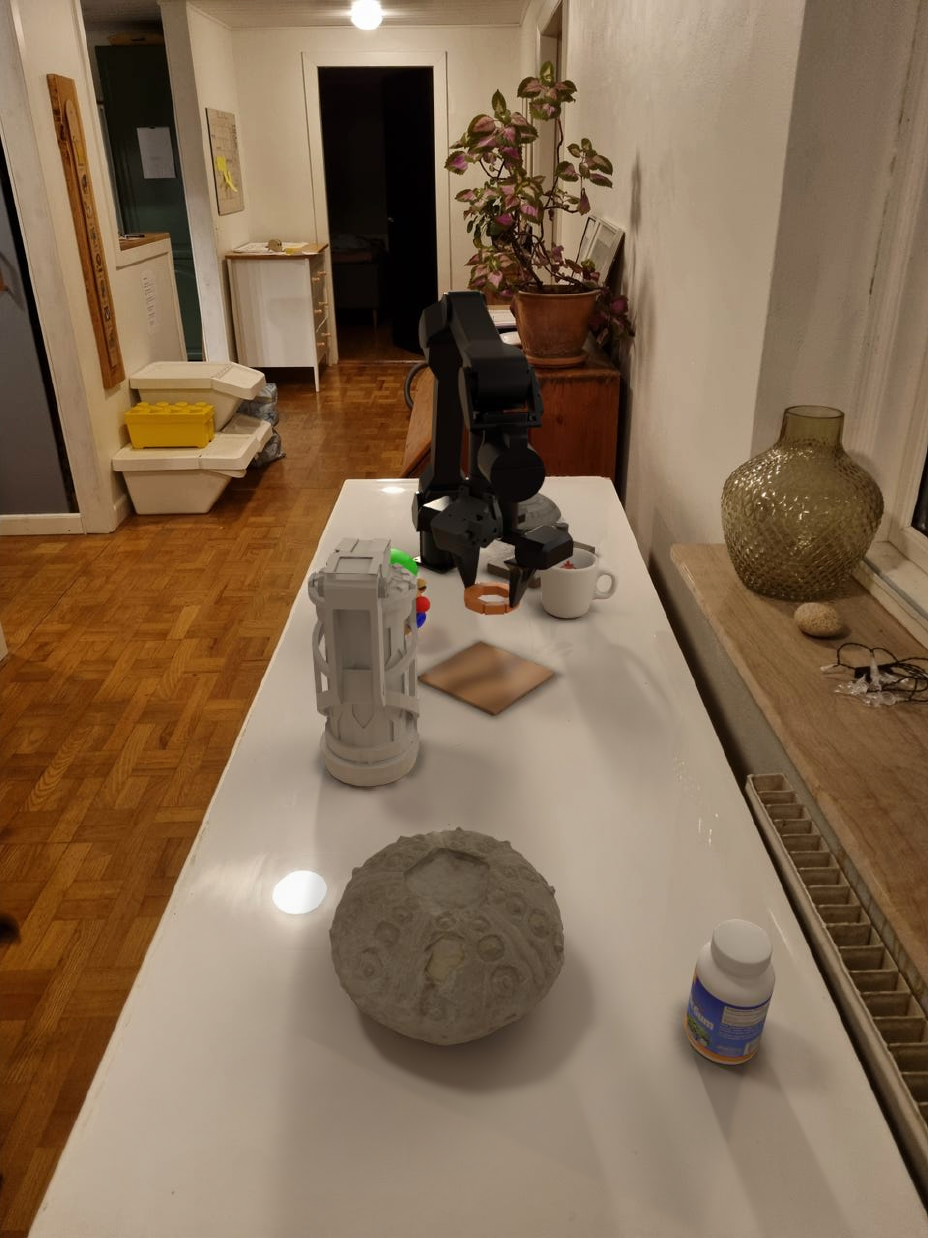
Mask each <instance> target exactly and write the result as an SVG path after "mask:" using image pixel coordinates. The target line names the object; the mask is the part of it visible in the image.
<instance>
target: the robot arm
mask: <svg viewBox="0 0 928 1238" xmlns="http://www.w3.org/2000/svg"><path fill="white" fill-rule="evenodd" d="M489 310H490V309H489V307H488V300H487V294H486V293H485V292H484V291H483V292H482V291H480V290H478V289H471V290H470V289H469V290H465V289H464V290H449V291H448V292H443V293H442V295H441V298H440V299H439V300H437V301H436V302H434V303H432V304H431V305H428V306H427V307H425V308H424V309H423V310H422V312H421V316H420V319H419V322H418V339H419V346H420V349H422V351H423V354H424V357H425V360H426V362H427V366H428V368H429V369H430V372H432V374H433V389H432V391H433V392H432V395H433V396H432V413H431V414H432V415H431V416H432V417H431V437H430V438H431V439H430V441H431V442H430V444H431V445H430V460H429V461H430V462H429V464H428V465H427V466H426V467H425V469H424V470H423V471H422V472H421V474H420V475H419V477H418V486H417V491H416V492H414V494H413V499H412V503H411V511H410V512H411V522H412V525H413V527H414V529H415V532H416V533H419V555H418V556H416V557H414V558H412V559H413V560H415V562H416V565H419V566H421V567H425V568H427V569H430V570H432V571H435V572H437V573H441V574H445V573H448V572H449V571H452V570H454V569H457V571H458V574H459V577H460V579H461V583H462V585H463V587H464V590H465V589H466V588H468V587H470V586H472V585H474V584H476V580H477V576H478V568H479V562H480V561H479V560H480V552H481V549H486V548H488V547H489V546H490V545H491V544H492V543H494V541H497V542H500V543H504V544H506V545H509V546H512V547H514V549H513V550H514V556H513V557H511V558H509V559H507V560H505V561H503V562H504V564H505V565H506V566H507V567H508V568H509V570H510V576H509V579H508V581H509V582H508V585H509V604H510V608H515V607H516V606H518V604H519V602H520V603H521V600H522V598H523V597H524V595H525V593H526V591H527V589H528V587H529V586H528V585H529V583H530V581H531V580H532V578H533V576H534V574H535V573H536V571H537V570H547V569H549V568H551V567H553V566H555V565H557V564H558V563H560V562H562V561H564V560H566V559H568V558H570V557H572V556H573V547H574V541H575V540H574V537H573V536H572V535H571V534H570V533H569V531H568V532H565V531H562V530H559V529H556V527H552V526H550V525H549V526H545V525H543V526H540V527H538V528H536V529H532V530H529V531H527V530H520V529H517V528H518V525H519V524H521V523H523V522H525V514H526V513H523V512H520V511H519V502H523V501H526V500H528V499H530V498H532V497H533V496H534V495H536V494H537V493H540V492H539V491H541V489H542V487H543V486H544V483H545V479H546V475H547V472H546V471H547V470H546V469H547V468H546V467H545V463H544V461H543V459H542V457H541V455H539V453H538V452H537V451H536V449H534V448H533V446H532V445H531V444H530V443H529V435H528V430H530V429H542V424H543V423H542V417H543V416H544V414H545V413H544V412H545V407H544V406H545V405H544V402H543V397H542V392H541V386H540V382H539V377H538V375H537V374H536V370H535V367H534V365H533V364H530V362H529V359H528V357H527V356H526V355H525V353H524V352H523V351H522V350H521V349H520V348H519V347H518V346H515V345H512V344H509V343H506V342H504V340H503V339H502V337H501V334H500V332H499V330H498V328H497V326H496V324H495V321H494V320H493V317H492V316H491V314H490V311H489ZM526 408H527V411H524V410H525V409H526ZM506 411H507V412H506ZM464 427H465V428H466V429H467V430H468V478H467V477H466V474H465V472H464V471H463V469H462V460H463V459H462V457H463V444H464V431H465V429H464Z"/></svg>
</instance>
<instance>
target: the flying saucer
mask: <svg viewBox="0 0 928 1238" xmlns="http://www.w3.org/2000/svg"><path fill="white" fill-rule="evenodd" d="M519 511H520V512H523V513H526V514H525V522H523V523H521V524H519V525H518V528H517V529H520V530H523V531H532V530H534V529H536V528H538V527H540V526H543V525H545V526H549V527H550V526H552V525H554V524H555V523H556V522H559V520H560V519H561V517H562V511H561V510H560V507H559V506H558V505H557V504H556V502H554V500H552V499H551V498H550V497H548V496H546V495H544V494H543V493H540V492H538V493H537V494H536V495H534V496H533V497H532V498H530V499H528V500H526V501H523V502H519Z"/></svg>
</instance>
